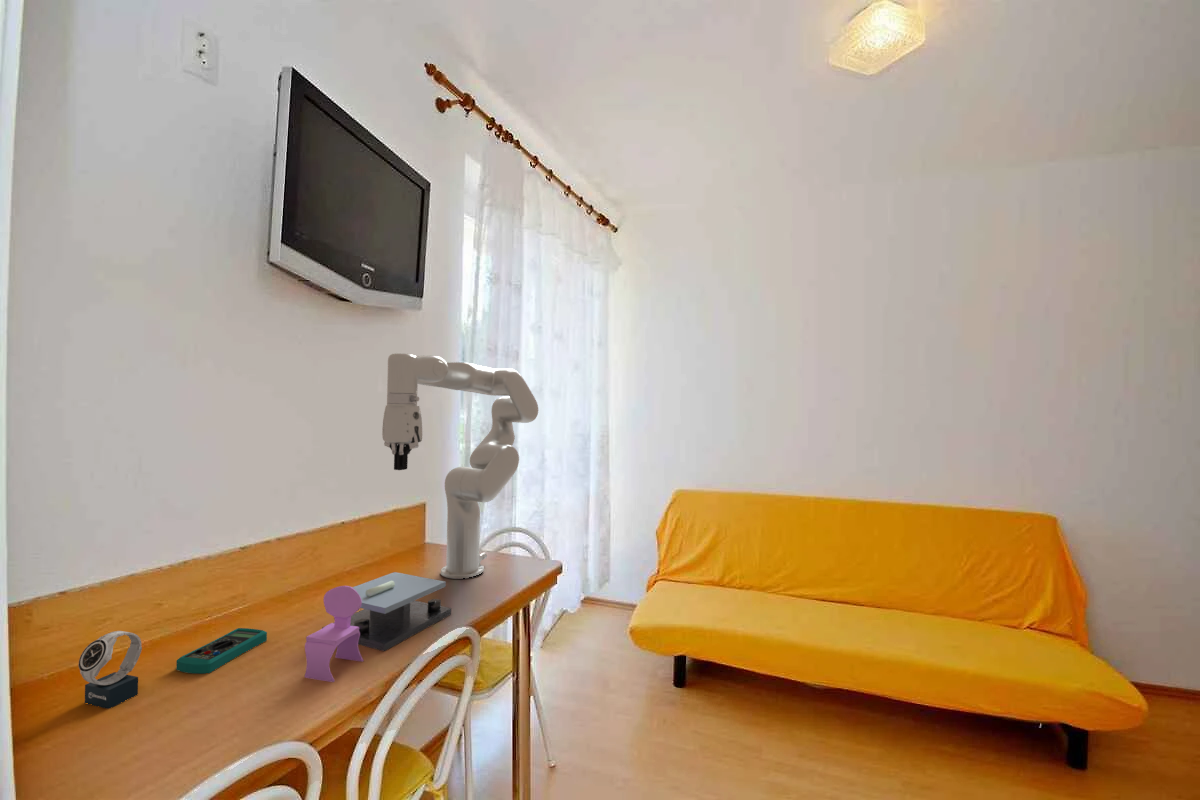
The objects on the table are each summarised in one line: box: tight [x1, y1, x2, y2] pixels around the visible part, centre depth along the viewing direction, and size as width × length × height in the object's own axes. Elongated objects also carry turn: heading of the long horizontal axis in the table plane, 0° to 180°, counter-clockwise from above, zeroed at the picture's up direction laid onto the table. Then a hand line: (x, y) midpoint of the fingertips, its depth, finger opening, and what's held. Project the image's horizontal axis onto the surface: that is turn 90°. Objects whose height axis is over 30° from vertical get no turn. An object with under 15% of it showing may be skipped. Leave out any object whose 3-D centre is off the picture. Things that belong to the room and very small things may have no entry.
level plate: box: [351, 571, 447, 614], centre depth 122 cm, size 19×16×3 cm
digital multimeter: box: [175, 627, 268, 675], centre depth 106 cm, size 7×15×3 cm, turn 171°
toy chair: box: [304, 585, 364, 683], centre depth 101 cm, size 8×9×15 cm
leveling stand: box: [321, 598, 452, 652], centre depth 121 cm, size 21×18×6 cm
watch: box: [78, 630, 143, 710], centre depth 89 cm, size 6×8×11 cm
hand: (400, 469), depth 140 cm, fingers closed
